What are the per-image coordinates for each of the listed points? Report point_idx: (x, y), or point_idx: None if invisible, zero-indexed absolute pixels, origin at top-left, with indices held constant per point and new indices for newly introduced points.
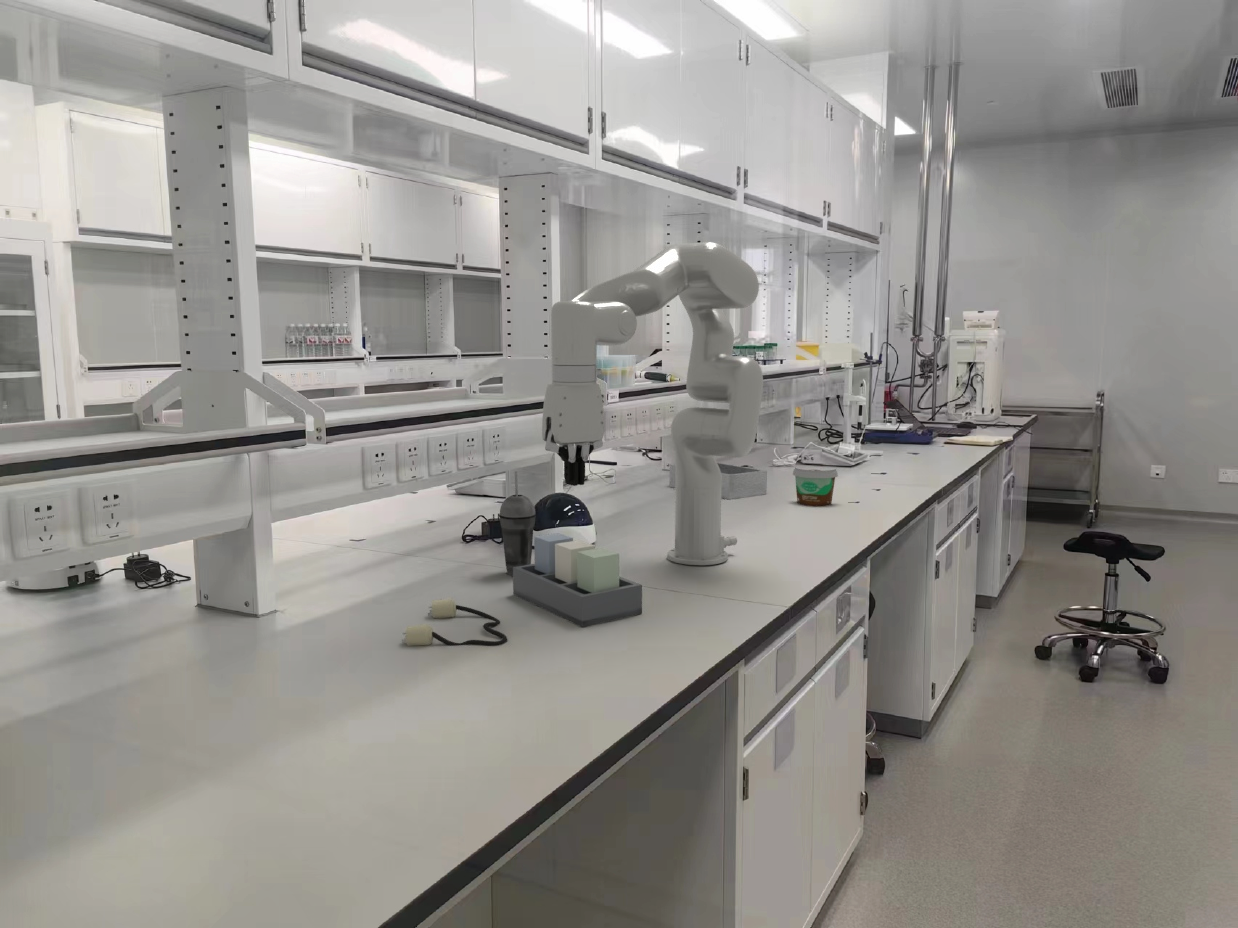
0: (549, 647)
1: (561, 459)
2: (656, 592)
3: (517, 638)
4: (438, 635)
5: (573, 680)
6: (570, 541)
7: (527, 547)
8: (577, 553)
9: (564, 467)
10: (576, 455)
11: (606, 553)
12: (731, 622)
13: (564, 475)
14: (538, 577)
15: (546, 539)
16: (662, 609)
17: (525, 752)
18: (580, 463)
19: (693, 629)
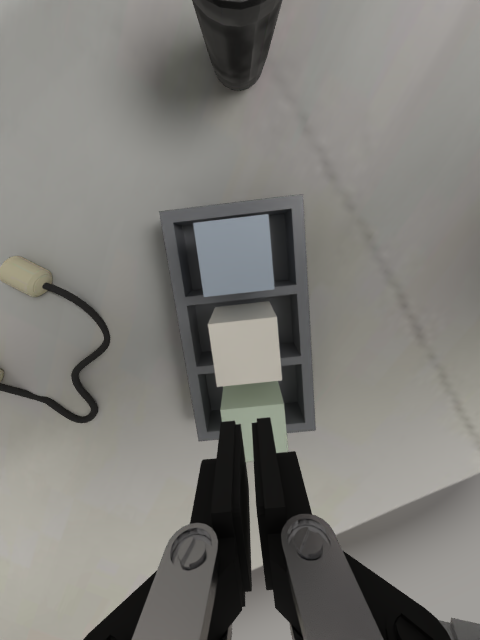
0: (138, 453)
1: (173, 536)
2: (389, 326)
3: (112, 411)
4: (2, 390)
5: (127, 536)
6: (251, 319)
7: (249, 57)
8: (220, 409)
9: (194, 507)
10: (285, 582)
11: None
12: (381, 480)
13: (200, 471)
14: (178, 309)
15: (208, 270)
16: (341, 400)
17: (45, 618)
18: (268, 587)
19: (324, 479)
